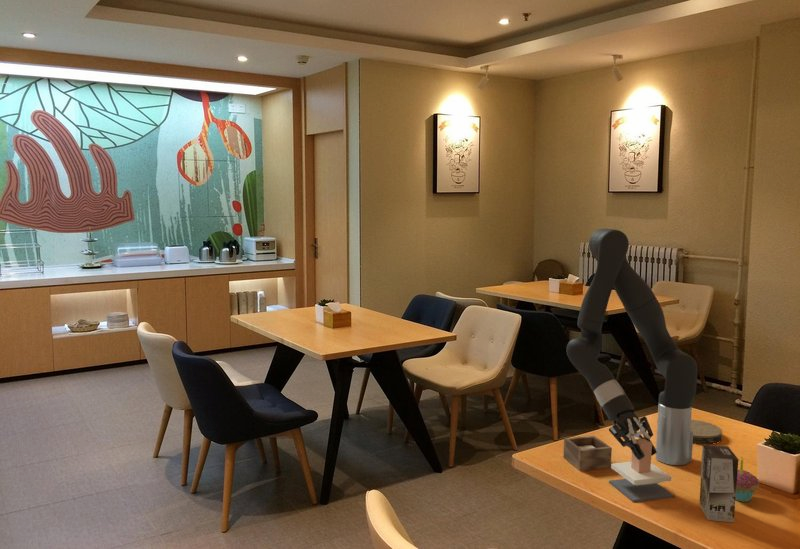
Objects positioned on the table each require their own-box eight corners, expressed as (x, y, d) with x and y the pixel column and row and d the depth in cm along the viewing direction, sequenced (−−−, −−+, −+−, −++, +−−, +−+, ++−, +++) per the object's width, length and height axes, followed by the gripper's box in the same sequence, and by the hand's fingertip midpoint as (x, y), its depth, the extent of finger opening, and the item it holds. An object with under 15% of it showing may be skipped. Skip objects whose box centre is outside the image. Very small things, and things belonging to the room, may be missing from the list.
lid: (646, 468, 189) (648, 432, 187) (670, 485, 178) (673, 447, 177) (610, 472, 186) (612, 435, 185) (633, 489, 176) (636, 450, 174)
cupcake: (756, 507, 172) (759, 463, 171) (720, 499, 177) (723, 455, 175) (759, 495, 180) (762, 451, 178) (724, 487, 184) (727, 445, 183)
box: (593, 454, 207) (594, 435, 206) (610, 467, 197) (611, 447, 196) (563, 457, 204) (564, 438, 204) (579, 470, 195) (580, 450, 194)
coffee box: (735, 523, 165) (739, 459, 163) (706, 520, 166) (710, 457, 164) (725, 505, 173) (729, 445, 171) (698, 503, 175) (702, 443, 173)
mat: (647, 478, 190) (647, 476, 190) (673, 497, 178) (674, 495, 178) (608, 482, 187) (608, 480, 187) (633, 502, 175) (633, 499, 175)
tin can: (687, 424, 234) (688, 416, 234) (731, 438, 221) (732, 430, 220) (659, 433, 225) (659, 425, 225) (703, 449, 212) (703, 439, 212)
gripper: (604, 397, 182) (639, 455, 173) (638, 389, 189) (673, 444, 181) (588, 411, 187) (621, 468, 178) (621, 402, 195) (655, 456, 186)
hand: (647, 456), depth 180 cm, fingers closed on lid, 4 cm apart
